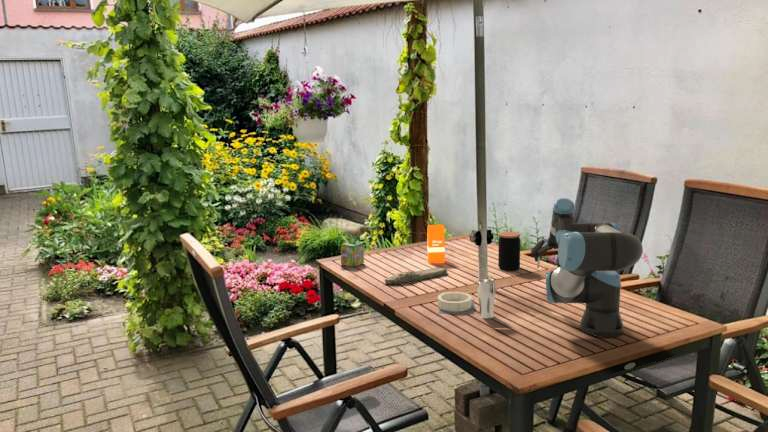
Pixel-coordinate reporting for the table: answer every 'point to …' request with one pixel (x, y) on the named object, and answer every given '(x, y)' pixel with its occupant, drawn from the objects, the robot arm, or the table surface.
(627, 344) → the table surface
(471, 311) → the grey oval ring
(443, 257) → the orange juice
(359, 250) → the green glass canister
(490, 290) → the beer glass
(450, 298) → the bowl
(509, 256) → the coffee jar
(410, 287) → the table surface
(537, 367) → the table surface
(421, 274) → the elongated rock
